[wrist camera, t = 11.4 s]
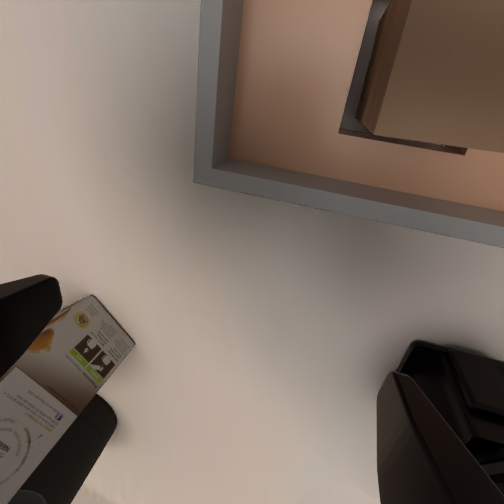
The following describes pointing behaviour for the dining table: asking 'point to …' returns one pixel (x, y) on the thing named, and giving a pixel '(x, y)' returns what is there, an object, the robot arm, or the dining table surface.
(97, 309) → the coffee box
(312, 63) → the box
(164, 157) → the dining table surface
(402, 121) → the walnut peg
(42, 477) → the pen holder
